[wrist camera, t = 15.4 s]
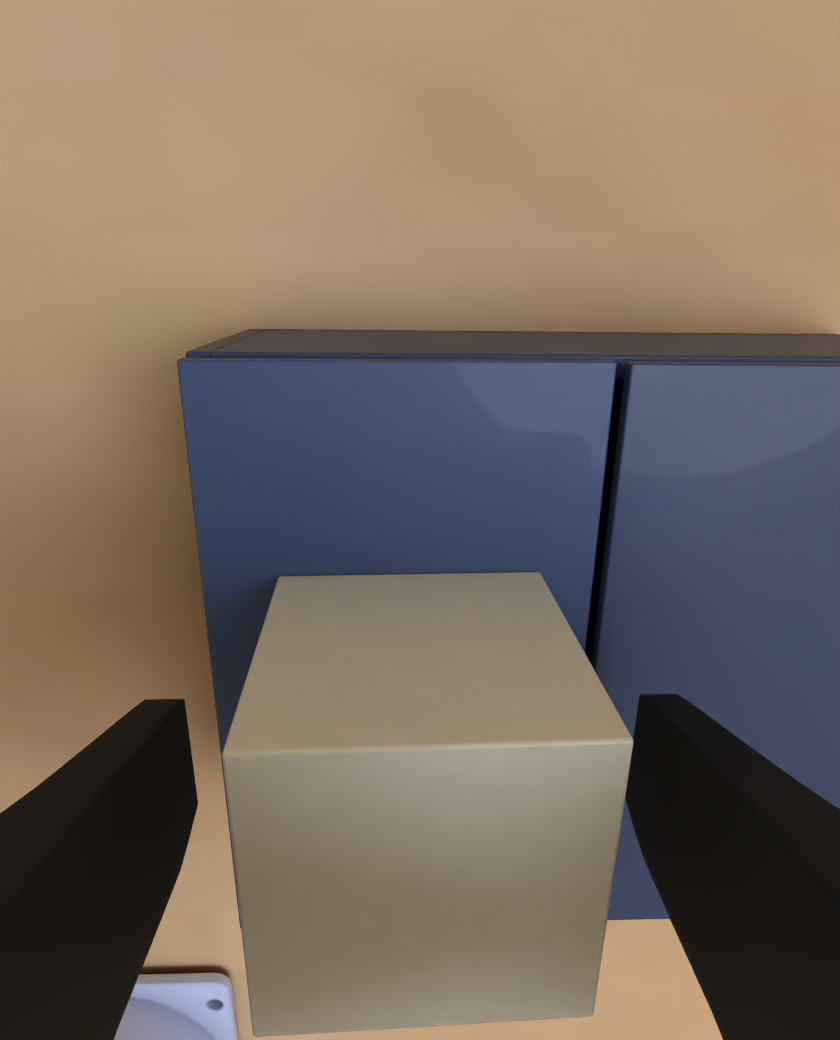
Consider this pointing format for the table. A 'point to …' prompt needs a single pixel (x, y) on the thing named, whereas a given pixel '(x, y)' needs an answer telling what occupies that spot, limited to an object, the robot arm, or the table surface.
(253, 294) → the table surface
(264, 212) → the table surface
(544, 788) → the block
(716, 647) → the carton
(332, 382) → the flap
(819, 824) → the robot arm
